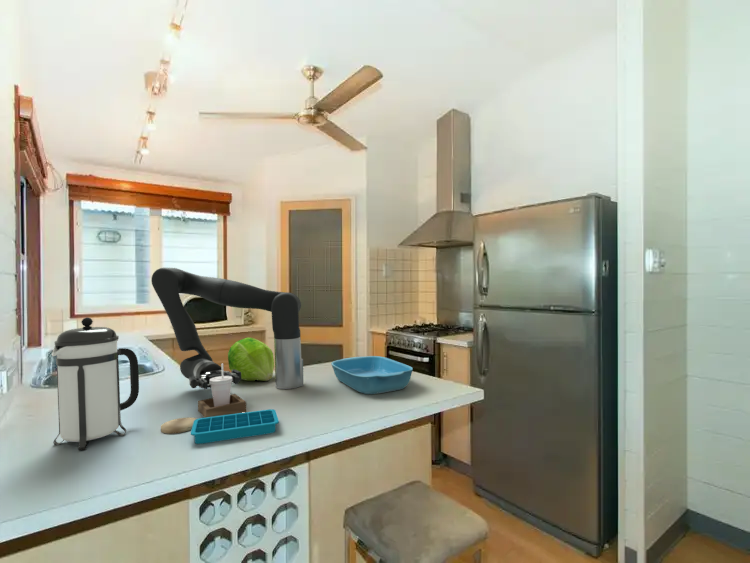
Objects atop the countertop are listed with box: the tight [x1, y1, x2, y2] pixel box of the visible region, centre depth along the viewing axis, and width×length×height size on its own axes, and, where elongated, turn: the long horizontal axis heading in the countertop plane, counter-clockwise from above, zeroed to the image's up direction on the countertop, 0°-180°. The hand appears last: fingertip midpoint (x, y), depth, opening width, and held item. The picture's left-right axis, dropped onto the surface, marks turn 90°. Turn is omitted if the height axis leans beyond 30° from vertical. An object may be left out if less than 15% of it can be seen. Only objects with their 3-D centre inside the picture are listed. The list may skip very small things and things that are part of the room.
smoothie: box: [209, 363, 233, 407], centre depth 119 cm, size 6×6×14 cm
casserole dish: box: [331, 355, 414, 395], centre depth 146 cm, size 37×22×7 cm, turn 25°
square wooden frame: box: [197, 393, 248, 418], centre depth 119 cm, size 11×11×3 cm
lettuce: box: [227, 337, 275, 382], centre depth 156 cm, size 17×20×16 cm
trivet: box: [160, 417, 198, 435], centre depth 107 cm, size 9×9×1 cm
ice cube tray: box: [190, 408, 280, 445], centre depth 103 cm, size 12×20×3 cm, turn 109°
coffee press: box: [51, 317, 140, 452], centre depth 101 cm, size 17×16×30 cm
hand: (221, 383), depth 118 cm, fingers open, 8 cm apart
